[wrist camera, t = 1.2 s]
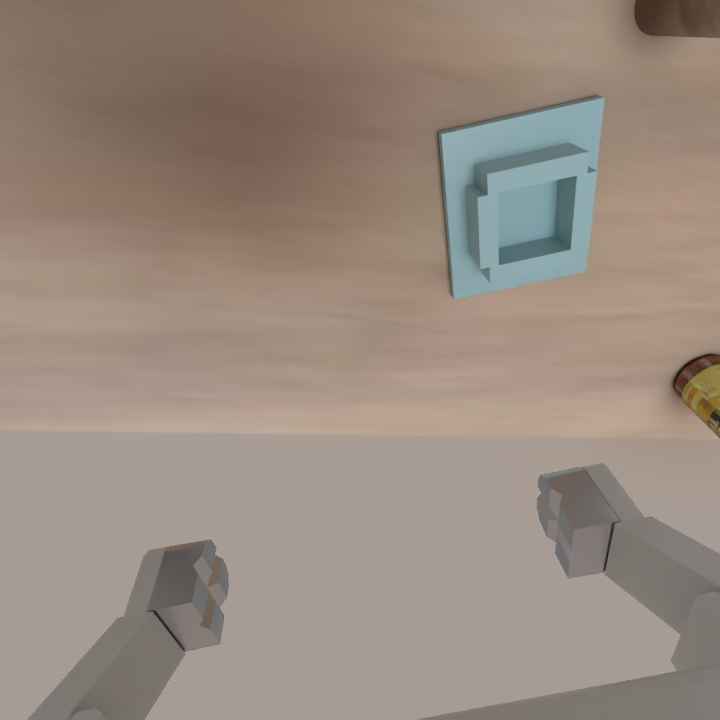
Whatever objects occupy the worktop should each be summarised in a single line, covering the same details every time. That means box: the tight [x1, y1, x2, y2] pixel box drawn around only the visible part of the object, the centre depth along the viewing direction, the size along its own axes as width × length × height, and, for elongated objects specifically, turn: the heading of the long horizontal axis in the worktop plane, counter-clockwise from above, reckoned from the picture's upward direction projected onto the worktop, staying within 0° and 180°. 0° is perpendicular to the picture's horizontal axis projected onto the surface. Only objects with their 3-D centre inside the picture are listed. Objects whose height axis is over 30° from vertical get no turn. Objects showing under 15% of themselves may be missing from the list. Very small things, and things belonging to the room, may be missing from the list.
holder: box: [438, 96, 605, 300], centre depth 37 cm, size 14×12×4 cm
